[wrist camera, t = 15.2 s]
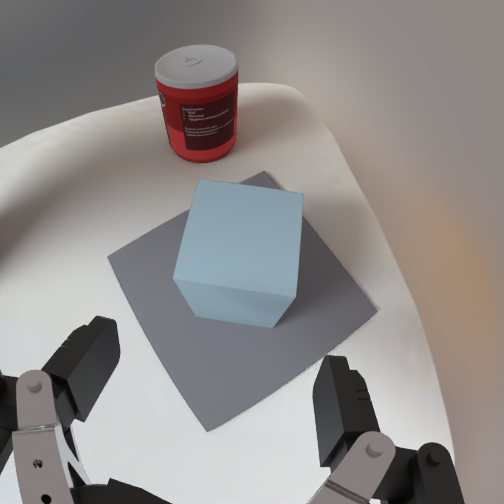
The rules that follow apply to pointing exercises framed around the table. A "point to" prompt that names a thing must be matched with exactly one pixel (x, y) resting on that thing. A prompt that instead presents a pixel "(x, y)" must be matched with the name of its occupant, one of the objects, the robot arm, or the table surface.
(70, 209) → the table surface
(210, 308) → the light blue tall box
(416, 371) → the table surface
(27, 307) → the table surface
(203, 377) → the mat
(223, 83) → the canned food
